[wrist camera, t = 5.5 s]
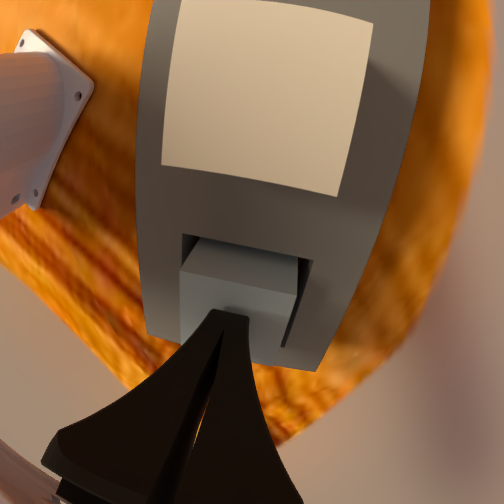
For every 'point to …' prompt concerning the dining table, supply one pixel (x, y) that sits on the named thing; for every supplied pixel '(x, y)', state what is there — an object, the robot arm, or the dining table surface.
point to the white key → (264, 91)
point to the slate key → (240, 291)
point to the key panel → (276, 195)
